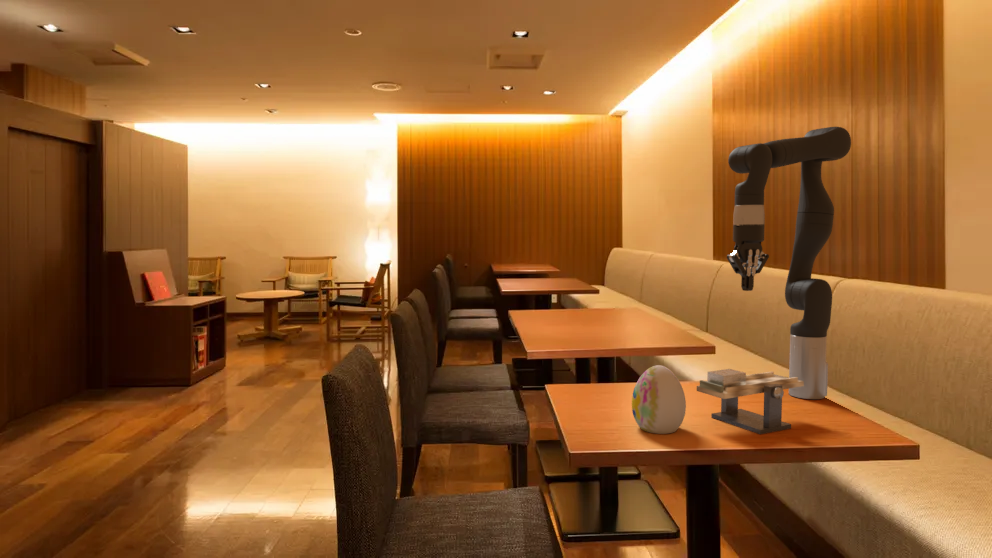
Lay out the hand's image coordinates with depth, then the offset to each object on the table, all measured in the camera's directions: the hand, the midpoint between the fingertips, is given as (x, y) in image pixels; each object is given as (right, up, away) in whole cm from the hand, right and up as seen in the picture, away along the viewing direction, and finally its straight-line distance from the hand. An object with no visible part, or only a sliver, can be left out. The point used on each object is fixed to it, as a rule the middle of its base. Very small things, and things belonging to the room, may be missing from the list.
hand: (747, 290), depth 162 cm
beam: (-4, -23, -11) cm, 26 cm away
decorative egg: (-27, -32, -15) cm, 45 cm away
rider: (-11, -23, -14) cm, 29 cm away
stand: (-4, -32, -11) cm, 34 cm away
